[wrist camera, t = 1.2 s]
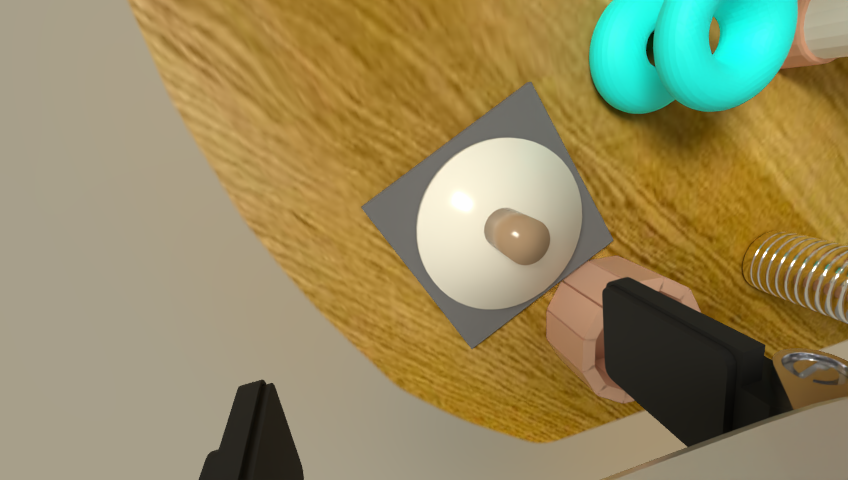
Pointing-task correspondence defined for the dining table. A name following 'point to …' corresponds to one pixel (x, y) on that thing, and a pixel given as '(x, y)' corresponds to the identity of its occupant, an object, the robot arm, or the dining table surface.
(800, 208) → the dining table surface
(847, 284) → the water bottle
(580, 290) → the bowl
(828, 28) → the pepper shaker
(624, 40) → the donuts
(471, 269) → the lid
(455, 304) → the mat
